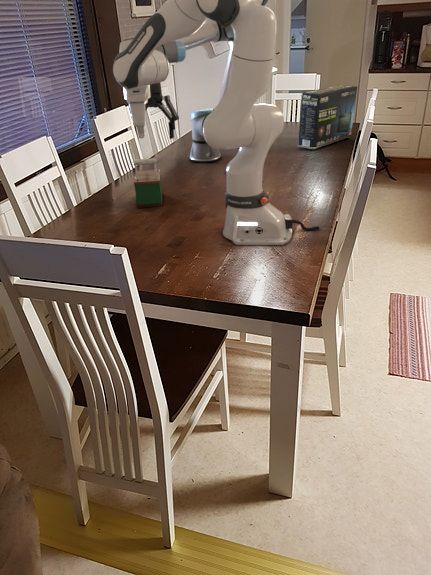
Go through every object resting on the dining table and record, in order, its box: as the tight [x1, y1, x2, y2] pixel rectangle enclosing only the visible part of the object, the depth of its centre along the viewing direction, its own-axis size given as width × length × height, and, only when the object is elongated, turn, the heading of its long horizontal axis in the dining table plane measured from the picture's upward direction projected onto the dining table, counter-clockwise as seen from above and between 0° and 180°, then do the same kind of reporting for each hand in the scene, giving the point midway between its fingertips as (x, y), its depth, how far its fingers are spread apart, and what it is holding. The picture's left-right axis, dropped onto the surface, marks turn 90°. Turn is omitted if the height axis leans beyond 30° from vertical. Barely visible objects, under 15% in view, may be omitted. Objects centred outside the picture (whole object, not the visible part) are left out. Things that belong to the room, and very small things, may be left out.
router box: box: [297, 84, 358, 151], centre depth 238 cm, size 36×11×27 cm, turn 134°
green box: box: [134, 175, 163, 209], centre depth 177 cm, size 14×9×9 cm
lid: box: [133, 158, 161, 186], centre depth 172 cm, size 14×9×8 cm, turn 5°
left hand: (156, 137), depth 191 cm, fingers open, 13 cm apart
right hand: (141, 134), depth 162 cm, fingers open, 8 cm apart
